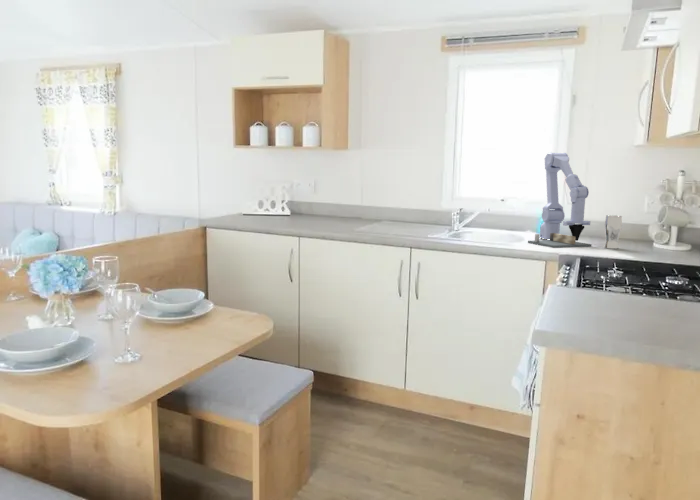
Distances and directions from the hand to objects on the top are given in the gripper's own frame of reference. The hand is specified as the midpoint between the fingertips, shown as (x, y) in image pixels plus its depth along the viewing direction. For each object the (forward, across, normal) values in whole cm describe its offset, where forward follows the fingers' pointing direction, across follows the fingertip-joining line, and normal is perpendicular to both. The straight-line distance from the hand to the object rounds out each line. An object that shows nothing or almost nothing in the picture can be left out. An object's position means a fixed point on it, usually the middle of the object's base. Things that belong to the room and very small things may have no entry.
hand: (575, 240), depth 263 cm
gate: (+1, -6, +2) cm, 6 cm away
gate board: (+2, -7, +3) cm, 8 cm away
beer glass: (+2, +9, -13) cm, 16 cm away
